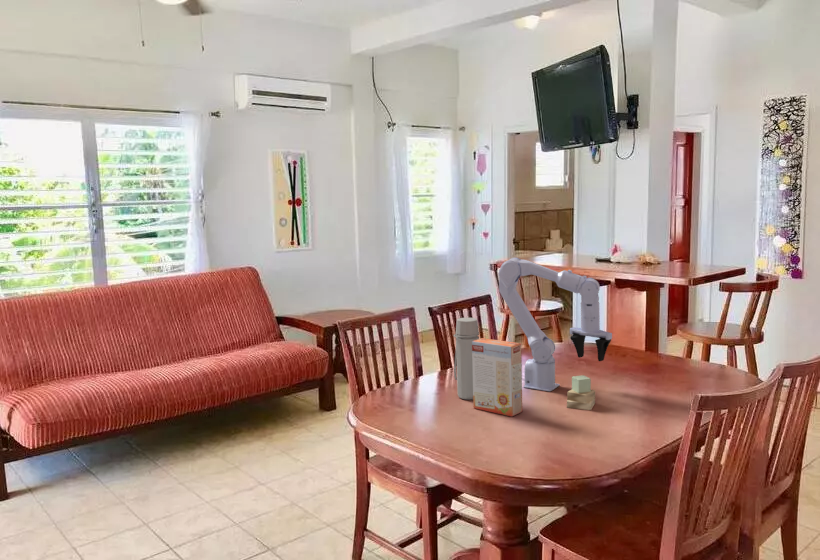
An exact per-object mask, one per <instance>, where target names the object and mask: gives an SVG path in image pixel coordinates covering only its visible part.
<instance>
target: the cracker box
mask: <svg viewBox="0 0 820 560" xmlns="http://www.w3.org/2000/svg"><path fill="white" fill-rule="evenodd" d="M522 359H523V358H522V343H521V342H513V341H508V340H507V341H506V340H500V339H499V340H498V339H492V338H491V339H490V338H487V337H486V338H483V337H482V338H481V337H480V338H479V339H478V340H475V341H472V365H473V399H472V401H473V402H472V403H473V409H474V410H475V409H476V410H480V411H484V412H485V411H486V412H489V413H494V414H498V415H502V416H507V417H515V416H516V415H518V414H521V413H523V369H522V368H523V366H522V365H523V363H522Z"/></svg>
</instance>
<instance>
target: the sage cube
mask: <svg viewBox="0 0 820 560" xmlns="http://www.w3.org/2000/svg"><path fill="white" fill-rule="evenodd" d="M591 380H592V379H591V377H588V376H586V375H584V374H583V375H575V376H571V390H574V391H575V392H577V393H584V392H591V390H592V389H591V388H592V387H591V385H592V384H591V382H592V381H591Z"/></svg>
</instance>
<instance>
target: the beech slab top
mask: <svg viewBox="0 0 820 560" xmlns="http://www.w3.org/2000/svg"><path fill="white" fill-rule="evenodd" d="M566 395H567V397H566V399H567V400H570V401H575V402H580V403H585V404H586V403H588V402H590V401H591V400H593V399H595V400H596V390H593V389H591V392H584V393H577V392H575V391H574V390H572V389H570V390H568V391H567V393H566ZM567 400H566V401H567Z"/></svg>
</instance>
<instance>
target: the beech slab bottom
mask: <svg viewBox="0 0 820 560" xmlns="http://www.w3.org/2000/svg"><path fill="white" fill-rule="evenodd" d="M595 404H596V398H595V399H593V400H591V401H590V402H588V403H586V404H585V403H580V402H575V401H570V400H566V408H567V409H577V410H585V411H591V410H593V409H592V408H594V405H595Z"/></svg>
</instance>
